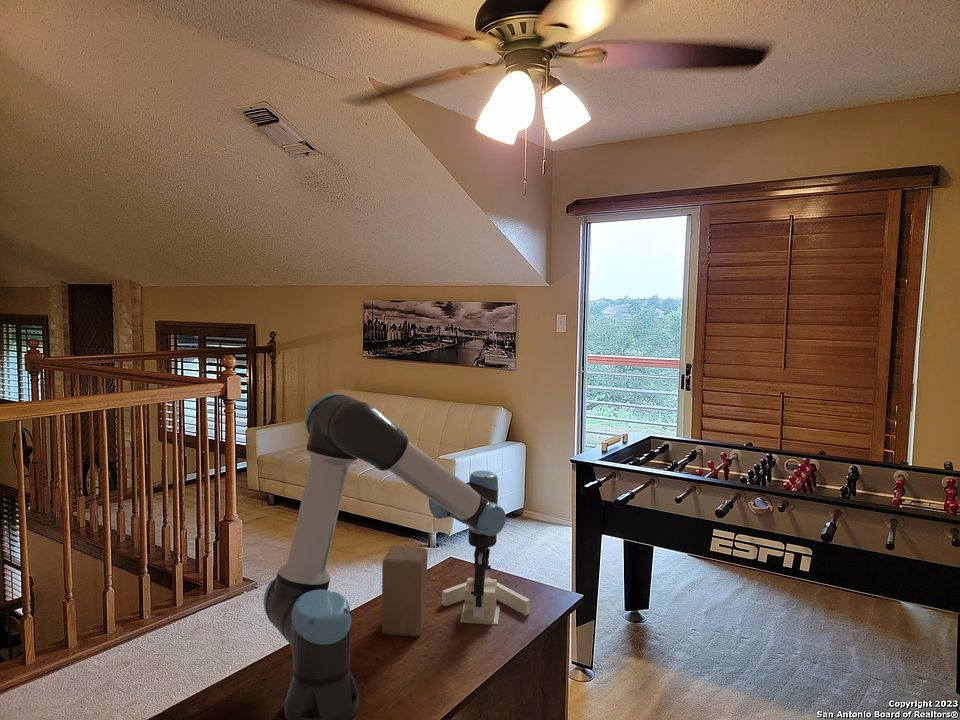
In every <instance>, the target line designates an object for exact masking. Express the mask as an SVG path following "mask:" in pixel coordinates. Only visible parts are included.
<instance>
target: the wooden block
mask: <svg viewBox="0 0 960 720" xmlns="http://www.w3.org/2000/svg"><path fill="white" fill-rule="evenodd" d="M381 566H382V571H381V572H382V576H381V577H382V578H381V579H382V581H381V631H382V634H384V635H390V636H391V635H392V636H403V637H405V636H406V637H419V636H420V634H421V632H422V630H423V627H424V625H425V622H426V619H427V593H428V590H427V589H428V586H427V584H428V550H427V548H424V547H412V546H409V547H408V546H395V545H394V546H391V547H390V548H389V550H388V552H387V553H386V555H385V557H383V560H382V564H381Z"/></svg>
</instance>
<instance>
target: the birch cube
mask: <svg viewBox="0 0 960 720" xmlns="http://www.w3.org/2000/svg"><path fill="white" fill-rule="evenodd" d="M474 578H475V577H467V580H466V582H467V584H466V588H465V599H464V603H463V606H464V620H478V621H493V622H494V618H495V611H496V605H497V599H496V589H497V581H498V580H497V579H495V578H490V579H485V581H484V618H474V617H473V608H474V595H471V591H472V592H474Z"/></svg>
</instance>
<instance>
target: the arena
mask: <svg viewBox="0 0 960 720" xmlns="http://www.w3.org/2000/svg"><path fill="white" fill-rule="evenodd" d="M488 579H491V577H489V576H488ZM466 584H467V581H465V582H464V583H460V584H457V585H454V586H451V587H449V588H446V589H443V590H442V591H441V605H442V606H444V607H448V606H450V605H453V604H456V603H458V602H462V601H463V600H464V601H465V588H466ZM496 601H499V602H501V603H502V604H504V605H506V606H508V607H510V608H512V609H513V610H515V612H518V613H520V614H522V615H524V616H526V617H527V615H530V614H531V613H530V610H531V599H530V598H528V597H526V596H524V595H522V594H520V593H518V592H516V591H514V590H512V589H511V588H509V587H507V586H505V585H503V584H502V583H499V582H497V589H496ZM500 607H501V605H498V604H496V611H495V618H494V622H493V621H478V620H464V605H463V607H462V612H461V615H460V620H459V623H466V624H477V625H478V624H481V625H494V626H495V625H496V626H498V625H499V617H500Z"/></svg>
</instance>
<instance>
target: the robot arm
mask: <svg viewBox="0 0 960 720" xmlns="http://www.w3.org/2000/svg"><path fill="white" fill-rule="evenodd" d="M305 414H306V415H305V418H304V419H305V422H304V423H305V428H306V430H307V433H308V434H309V436H308V440H307V445H306V448H305V451H306V452H307V454H308V455H309V456H310V462H309V468H308V471H307V476H306V479H305V484H304V488H303V492H302V498H301V501H300V505H299V510H298V513H297V514H298V515H297V517H296V518H297V519H296V523H295V527H294V532H293V537H292V541H291V544H290V549H289V554H288V558H287V561H286V563H284V564H283V565H281V566H279V568H278V569H277V574H276V575H275V578H273V580H271V581H270V582H269V584H268V585H267V587H266V590H264V591H265V592H264V594H263V595H264V596H263V607H264V611H265V613H266V616H267V619H268V620H269V622H270V623H271V624H272V626H273V627H274V628H275V629H276V630H278V632H279V633H280V634H281V635H282V636H283V638H284V639H285V641H286V642H288V644H289V645H290V646H291V649H292V678H291V681H290V684H289V687H288V690H287V693H286V695H285V696H286V697H285V699H284V717H285V719H286V720H351V719H352V718H353V717H354V716H355V715H356V713H357V711H358V709H359V704H360V703H359V702H360V701H359V690H358V688H357V685H356V682H355V679H354V676H353V673H352V671H351V670H352V669H351V639H352V638H351V631H352V630H351V629H352V628H351V627H352V615H351V607H350V604H349V601H348V600H347V599H346V597H344V596H343V595H342V594H341V593H339V592H336V591H335V590H334V591H330V590H329V586H330V580H331V575H330V574H329V572H328V570H327V563H328V560H329V555H330V550H331V547H332V542H333V538H334V533H335V529H336V525H337V520H338V516H339V513H340V508H341V504H342V503H341V502H342V498H343V493H344V490H345V485H346V481H347V477H348V472H349V468H350V466H351V465H352V464H354V463H355V462H357V461H358V459H359V460H362V461H364V462H366V463H367V464H370V465H371V466H373V467H375V468H376V469H377V470H379V471H380V472H387V471H389V472H391V474H394V476H396V477H398V478H399V479H401V480H402V481H404V482H405V483H407V484H408V485H409V486H411V487H412V488H414V489H415V490H417V491H418V492H420V493H421V494H423V495H424V496H426V497H427V498H428V508H429V511H430V513H431V514H432V516H433V517H434V518H435V519H438V520H439V519H447V518H453V519H454V520H456V521H458V522H460V523H462V524H464V525H466V526H468V540H467V541H468V544H469V545H470V546H471V547H475V549H474V553H473V557H474V565H473V566H474V577H473V578H474V592H472V591H471V595H474V608H473V617H474V618H484V581H485V579H488V577H489V571H491V567H492V566H491V565H489V564H490V561H489V559H490V555H491V554H490V552H491V550H490V549H491V548H492V547H494V546H495V545H496V544H497V535H498V534H499V533H500V532H501V531H502V529H504V527H505V524H506V521H507V515H506V512H505V509H504V508H503V507H501V506H500V505H498V498H499V481H498V475H497V474H496V473H495V472H492V471H490V470H476V471H473V472H471V474H470V475H469V479H468V482H464V481H463V480H461V479H460V478H459V477H458V476H456V475H455V474H454V473H452V472H451V471H449V470H448V469H447V468H446V467H444V466H443V465H441V464H440V463H439V462H437V461H436V460H434V459H433V458H432V457H430V456H429V455H428V454H426V453H425V452H424V451H422V449H420V448H419V447H417V446H416V445H415V444H413V443H412V442H410V438H409V436H408V433H406V432H405V431H404V430H402V429H401V428H400V427H398V426H397V424H395V423H394V422H393V421H391V420H390V419H389V418H388V417H386V416H385V415H384V413H382V412H381V411H380V410H378V409H377V408H376V407H374V406H373V405H371V404H370V403H367V402H365V401H360V400H359V399H357V398H354V397H351V396H349V395H346V394H342V393H341V394H340V393H339V394H338V393H328V394H324V395H322V396H320V397H318V398H316V400H314V401H313V402H312V403H311V405H310V406H309V407H308V409H307V411H306V413H305Z"/></svg>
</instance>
